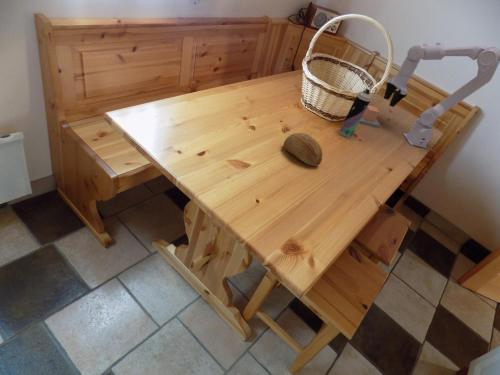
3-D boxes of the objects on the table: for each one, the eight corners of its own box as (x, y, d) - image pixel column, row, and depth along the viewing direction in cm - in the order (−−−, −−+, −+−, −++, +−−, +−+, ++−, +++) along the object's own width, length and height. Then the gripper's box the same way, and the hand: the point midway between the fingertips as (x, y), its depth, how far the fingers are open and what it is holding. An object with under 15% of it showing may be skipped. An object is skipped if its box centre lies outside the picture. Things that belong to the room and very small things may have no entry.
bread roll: (309, 173, 104) (318, 153, 99) (275, 149, 110) (282, 129, 105) (323, 164, 111) (333, 145, 106) (290, 142, 117) (298, 123, 112)
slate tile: (379, 128, 146) (380, 125, 146) (359, 123, 145) (360, 120, 144) (373, 117, 154) (374, 115, 153) (354, 112, 153) (355, 110, 152)
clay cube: (374, 121, 147) (379, 112, 144) (364, 119, 147) (369, 109, 143) (371, 116, 151) (376, 107, 148) (361, 114, 150) (366, 104, 147)
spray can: (337, 133, 131) (359, 88, 119) (340, 128, 136) (362, 84, 123) (349, 139, 130) (373, 94, 118) (352, 134, 134) (376, 90, 122)
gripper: (390, 65, 143) (375, 93, 151) (402, 78, 132) (386, 107, 140) (404, 69, 144) (389, 97, 152) (417, 82, 133) (400, 111, 141)
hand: (388, 102), depth 146 cm, fingers open, 7 cm apart
